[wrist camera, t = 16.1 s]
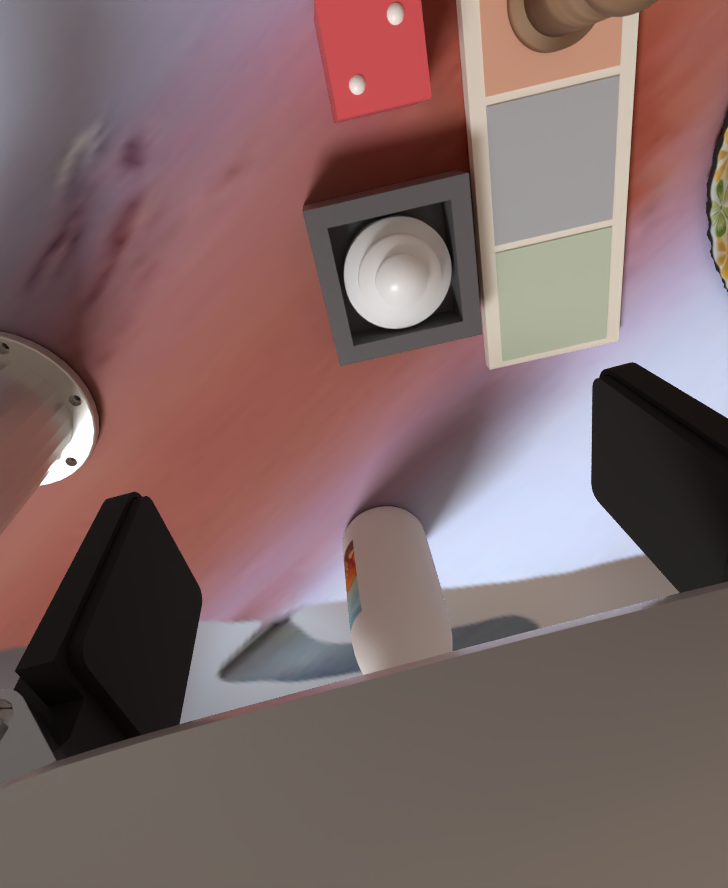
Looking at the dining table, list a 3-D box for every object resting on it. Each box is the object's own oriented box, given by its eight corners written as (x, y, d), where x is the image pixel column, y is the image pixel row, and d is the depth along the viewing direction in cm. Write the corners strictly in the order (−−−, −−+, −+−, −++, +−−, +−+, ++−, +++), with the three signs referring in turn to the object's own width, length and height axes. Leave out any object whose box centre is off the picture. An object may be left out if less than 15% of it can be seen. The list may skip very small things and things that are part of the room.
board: (485, 364, 40) (490, 370, 39) (448, -90, 27) (453, -98, 26) (611, 336, 40) (619, 341, 39) (637, -137, 26) (650, -147, 25)
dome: (355, 333, 36) (358, 347, 33) (332, 228, 32) (334, 235, 30) (452, 310, 36) (463, 323, 33) (440, 203, 32) (451, 208, 30)
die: (334, 123, 31) (338, 120, 26) (313, 19, 28) (314, -4, 24) (414, 104, 31) (432, 97, 26) (401, -3, 28) (419, -30, 24)
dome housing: (337, 348, 38) (340, 366, 35) (303, 205, 33) (302, 211, 30) (468, 318, 38) (482, 334, 35) (454, 169, 33) (468, 172, 30)
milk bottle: (362, 493, 45) (394, 706, 28) (438, 516, 48) (510, 728, 30) (329, 554, 49) (340, 779, 32) (401, 574, 51) (448, 793, 34)
